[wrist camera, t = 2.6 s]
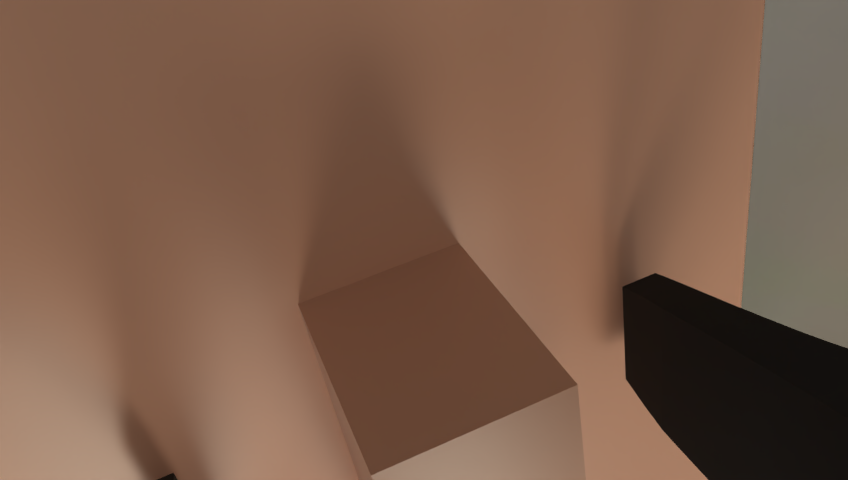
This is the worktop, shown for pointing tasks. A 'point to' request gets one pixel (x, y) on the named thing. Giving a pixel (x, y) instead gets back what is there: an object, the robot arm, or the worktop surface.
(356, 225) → the lid
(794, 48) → the worktop surface
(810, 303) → the worktop surface
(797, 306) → the worktop surface
